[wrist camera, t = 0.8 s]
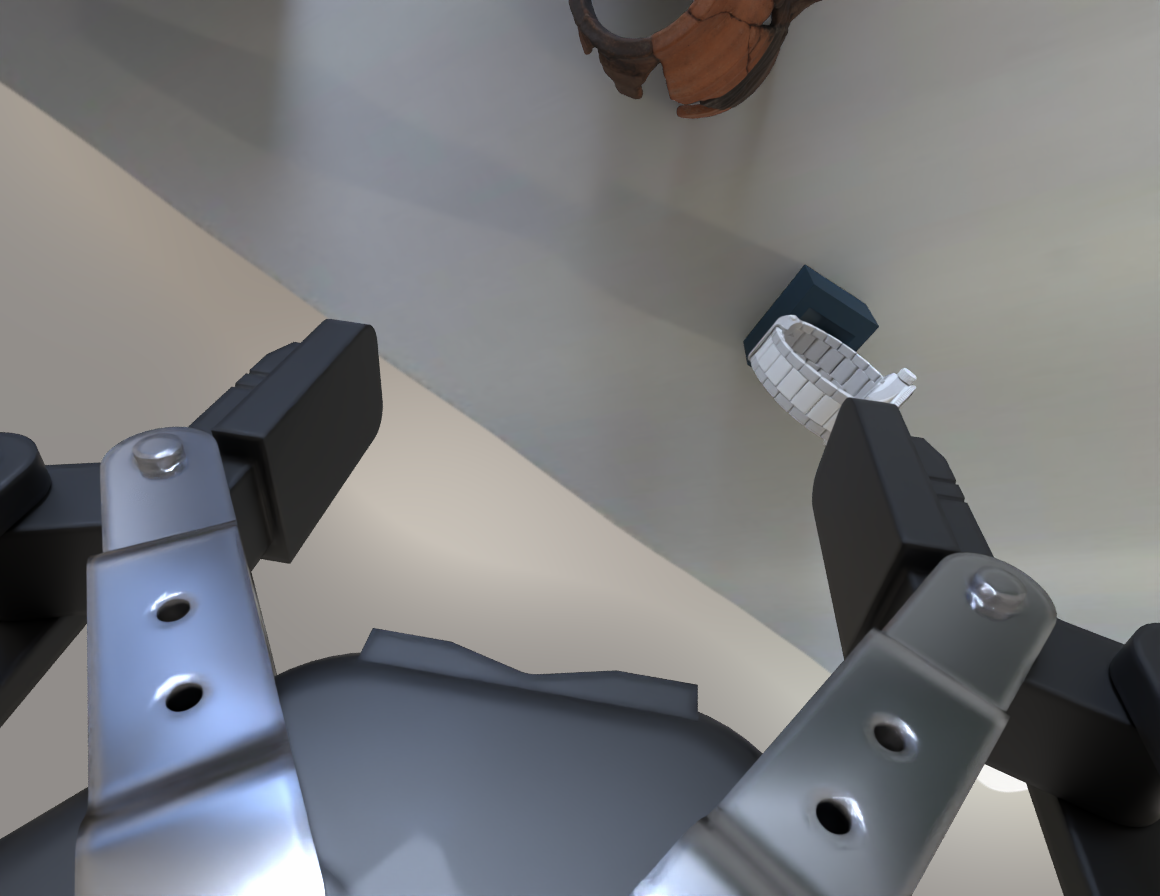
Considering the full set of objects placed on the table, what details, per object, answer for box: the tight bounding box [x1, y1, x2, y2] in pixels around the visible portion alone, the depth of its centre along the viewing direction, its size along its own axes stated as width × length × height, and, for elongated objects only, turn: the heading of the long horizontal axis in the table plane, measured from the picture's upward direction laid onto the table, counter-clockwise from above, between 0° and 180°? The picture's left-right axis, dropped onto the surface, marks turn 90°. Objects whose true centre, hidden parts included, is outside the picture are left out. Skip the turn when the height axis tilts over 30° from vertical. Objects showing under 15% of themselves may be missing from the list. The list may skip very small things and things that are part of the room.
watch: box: [743, 265, 917, 446], centre depth 36 cm, size 6×8×11 cm
